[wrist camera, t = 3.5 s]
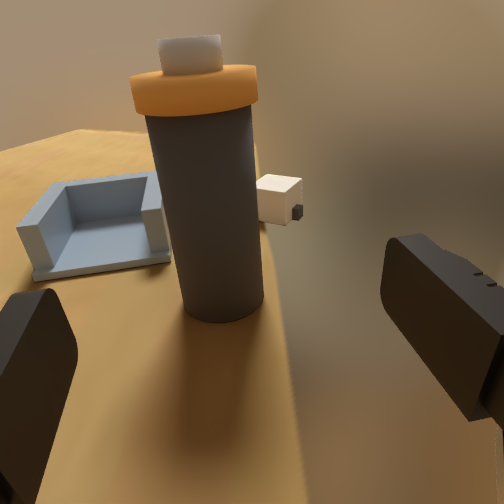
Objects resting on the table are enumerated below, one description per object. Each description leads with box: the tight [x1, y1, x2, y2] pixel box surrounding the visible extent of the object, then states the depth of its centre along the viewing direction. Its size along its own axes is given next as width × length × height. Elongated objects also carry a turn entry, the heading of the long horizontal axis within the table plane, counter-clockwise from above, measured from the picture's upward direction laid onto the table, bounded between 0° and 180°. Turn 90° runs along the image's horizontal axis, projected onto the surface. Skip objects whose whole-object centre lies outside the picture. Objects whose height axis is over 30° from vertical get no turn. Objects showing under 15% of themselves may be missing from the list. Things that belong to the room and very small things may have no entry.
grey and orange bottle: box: [129, 35, 264, 323], centre depth 17 cm, size 5×5×12 cm
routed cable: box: [256, 174, 303, 226], centre depth 30 cm, size 15×7×3 cm, turn 61°
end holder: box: [16, 171, 171, 282], centre depth 26 cm, size 8×8×4 cm
